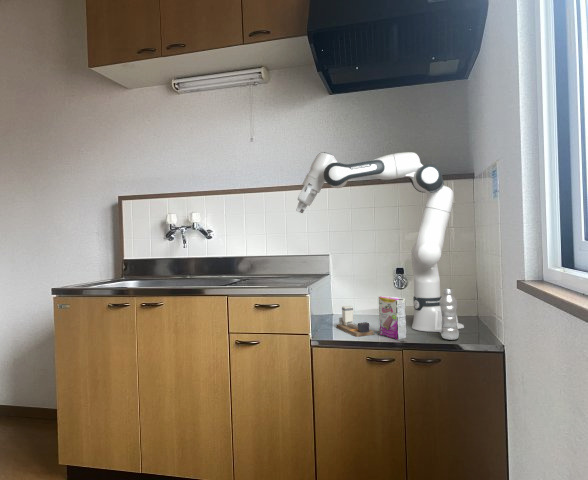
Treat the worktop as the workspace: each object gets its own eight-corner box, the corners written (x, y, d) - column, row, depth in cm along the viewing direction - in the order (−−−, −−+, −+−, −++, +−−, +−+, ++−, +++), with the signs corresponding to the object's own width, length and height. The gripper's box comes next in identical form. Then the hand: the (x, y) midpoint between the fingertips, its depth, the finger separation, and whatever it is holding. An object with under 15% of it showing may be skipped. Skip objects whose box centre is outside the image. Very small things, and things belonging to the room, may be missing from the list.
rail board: (352, 325, 196) (351, 316, 196) (373, 334, 177) (373, 324, 177) (336, 327, 193) (336, 318, 193) (356, 336, 174) (356, 326, 174)
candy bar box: (379, 335, 176) (377, 296, 175) (388, 333, 178) (386, 295, 178) (398, 340, 166) (396, 299, 166) (407, 338, 168) (405, 298, 168)
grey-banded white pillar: (350, 323, 193) (349, 305, 193) (353, 324, 190) (352, 306, 190) (342, 324, 191) (341, 306, 191) (345, 325, 189) (344, 307, 189)
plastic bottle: (460, 341, 160) (458, 289, 160) (442, 341, 162) (440, 289, 162) (457, 337, 167) (455, 287, 167) (439, 337, 168) (437, 287, 168)
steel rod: (348, 323, 195) (348, 315, 195) (369, 331, 176) (369, 323, 176) (340, 324, 193) (340, 316, 193) (360, 332, 175) (360, 324, 175)
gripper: (315, 185, 182) (301, 213, 183) (320, 190, 202) (308, 216, 203) (303, 179, 183) (289, 207, 184) (309, 184, 203) (296, 210, 204)
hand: (299, 212), depth 194 cm, fingers open, 8 cm apart
